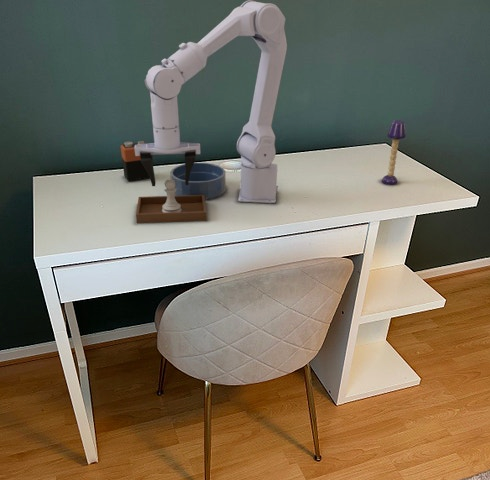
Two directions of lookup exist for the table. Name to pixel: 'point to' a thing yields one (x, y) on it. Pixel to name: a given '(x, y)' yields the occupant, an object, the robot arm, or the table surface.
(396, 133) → the toy lamp
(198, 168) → the bowl
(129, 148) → the battery
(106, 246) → the table surface
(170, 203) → the chess piece
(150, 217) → the tray
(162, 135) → the robot arm
